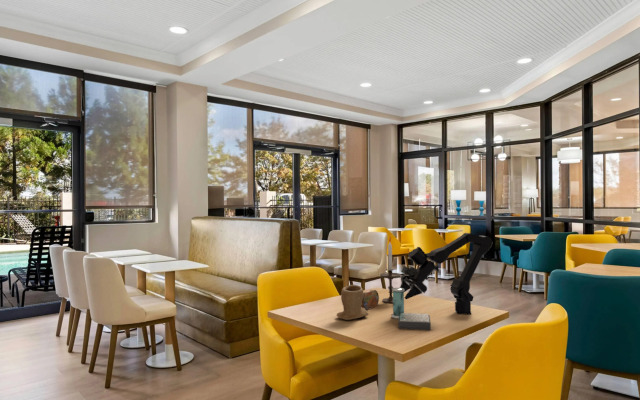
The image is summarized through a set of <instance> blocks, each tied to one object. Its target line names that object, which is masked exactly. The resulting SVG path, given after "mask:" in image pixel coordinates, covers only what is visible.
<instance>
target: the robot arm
mask: <svg viewBox="0 0 640 400" xmlns="http://www.w3.org/2000/svg"><path fill="white" fill-rule="evenodd" d="M468 243H471V244H472V251H471V254H470V256H469V258H468V260H467V262H466V264H465V266H464V267H463V270H462V273H461V274H460V276H459V277H458V278H455V277H454V278H453V280H452V283H451V284H450V289H449V290H450V292H451V294H452V295H453V297H454V299H455V302H454V310H455V311H454V312H456V314H458V315H459V314H460V315H472V310H471V309H472V308H471V307H472V305H471V304H472V303H471V302H473V301H474V296H473V295H472V293H471V292H470V289H471V285H470V284H471V280H472V279H473V276H474V273H476V270H477V268H478V266H479V263H480V262H481V259H482V258H483V256H484V255H485V254H486V253H487V252H488V251H489V250H490V249H491V248H492V246H493V243H494V242H493V240H492V238H491V237H490V236H488V235H487V236H486V235H476V234H472V233H471V232H464V233H462V235H460V236H459V237H457V238H455V239H453V240H452V241H451V242H449V243H447V244H445V245H444V246H441V247H438V248H435V249H432V250H431V251H429V252H427V253H425V251H424V250H423V249H422V247H420V246H417V247H416V248H414V249H412V250H411V251H409V253H408V255H407V256H408V257H409V258H410V260H411V261H412V262H413V263H414V264H415V265H416V266H418V268H415V267H413V266H410V267H408V266H405V265H403V266H402V268H401V273H402V275H401V277H400V278H399V279H400V282H401V284H400V286H399V288H404V293H405V292H407V291H408V292H407V293H406V294H405V295H404V300H408V299H411V298H413V297H415V296H418V295H421V294H423V293H424V294H425V293H426V292H427V291H428V287H427V285H425V284H424V281H426V280H429V276H430V275H431V274H432V273H433V271H435V272H439V271H440V270H439V269H440V268H439V265H440V264H442V263H444V262H445V261H446V260H448V259H449V257H450V255H451V254H453V253H455V252H456V251H458V250H459V249H461V248H462V247H464V246H465V245H467V244H468ZM438 264H439V265H438Z"/></svg>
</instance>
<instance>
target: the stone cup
mask: <svg viewBox="0 0 640 400" xmlns="http://www.w3.org/2000/svg"><path fill="white" fill-rule="evenodd" d="M340 294H341V295H340V299H341V303H342V306H343V311H340V312H338V313H336V317H337V318H339V319H341V320H346V321H348V320H355V319H359V318H363V317H366V316H369V312H368V311H367V309H365V308H362V307H361V305H362V300H363V296H364V289H363V288H362V286H361V285H359V284H358V285H357V284H349V285H346V286H344V287H343V288H342V289H341V293H340Z"/></svg>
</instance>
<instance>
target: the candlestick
mask: <svg viewBox="0 0 640 400" xmlns="http://www.w3.org/2000/svg"><path fill="white" fill-rule="evenodd" d="M391 238H392V237H391V236H390V237H389V239H388V241H389V243H388V246H387V251H388V252H387V253H388V254H387V255H388V269H386V271H388V272H385V273H380V274H379V276H380V278H382V279H387V280H389V282H388V283H389V284H388V285H389V286H387V288H388V293H389V297H386V298H383V299H381V300H382V303H383V304H384V303H385V304H392V305H393V291H392V288H394V286H393V280H394V279H398V278H399V279H401V278H400V277H401V276H402V275H401V274H400V273H397V272H396V273H395V272H393V271H394V269H393V247H392V246H393V244H391V242H392V241H391Z"/></svg>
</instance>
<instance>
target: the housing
mask: <svg viewBox="0 0 640 400" xmlns="http://www.w3.org/2000/svg"><path fill="white" fill-rule="evenodd" d="M392 292H393V293H392V297H393V304H392V313H391V314H390V315H391V318H392V319H395V320H399V314H400V313H405V292H404V288H400V287H393V288H392Z"/></svg>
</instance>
